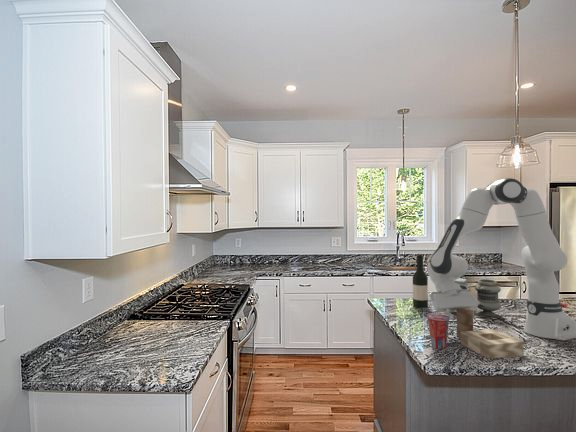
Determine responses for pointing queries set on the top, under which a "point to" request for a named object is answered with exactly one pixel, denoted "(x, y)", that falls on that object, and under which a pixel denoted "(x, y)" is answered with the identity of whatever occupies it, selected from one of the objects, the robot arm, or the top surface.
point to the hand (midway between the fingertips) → (463, 318)
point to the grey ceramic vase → (488, 297)
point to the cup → (438, 330)
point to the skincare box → (461, 281)
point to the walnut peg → (464, 320)
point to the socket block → (492, 343)
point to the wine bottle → (420, 285)
